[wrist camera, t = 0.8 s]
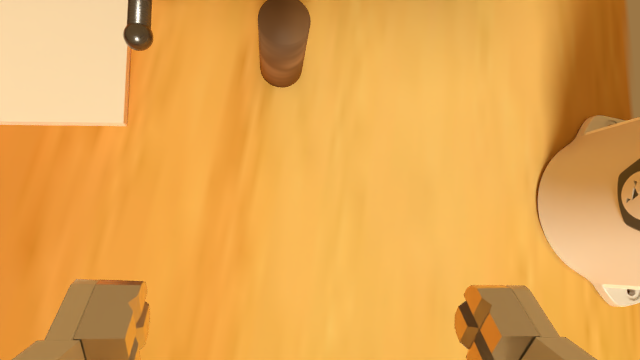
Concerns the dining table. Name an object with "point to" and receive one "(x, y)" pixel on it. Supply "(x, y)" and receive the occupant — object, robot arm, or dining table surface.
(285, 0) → the walnut peg
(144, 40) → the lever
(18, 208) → the dining table surface
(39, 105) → the plate
